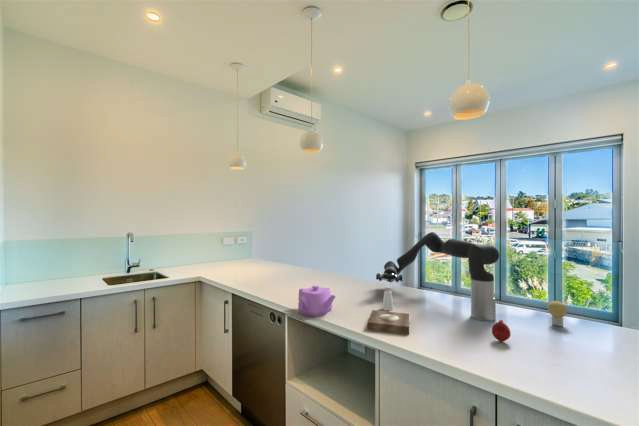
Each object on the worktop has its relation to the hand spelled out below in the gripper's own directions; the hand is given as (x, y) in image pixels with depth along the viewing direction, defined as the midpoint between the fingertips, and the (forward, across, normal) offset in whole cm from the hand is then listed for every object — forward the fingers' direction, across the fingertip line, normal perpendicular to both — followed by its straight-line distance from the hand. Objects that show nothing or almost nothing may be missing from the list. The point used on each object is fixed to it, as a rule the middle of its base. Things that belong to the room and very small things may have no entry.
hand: (388, 279), depth 154 cm
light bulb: (+12, -71, -11) cm, 73 cm away
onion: (+39, -43, -11) cm, 59 cm away
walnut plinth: (+34, -3, -12) cm, 36 cm away
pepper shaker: (+12, -1, -12) cm, 17 cm away
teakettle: (+27, +32, -12) cm, 44 cm away
